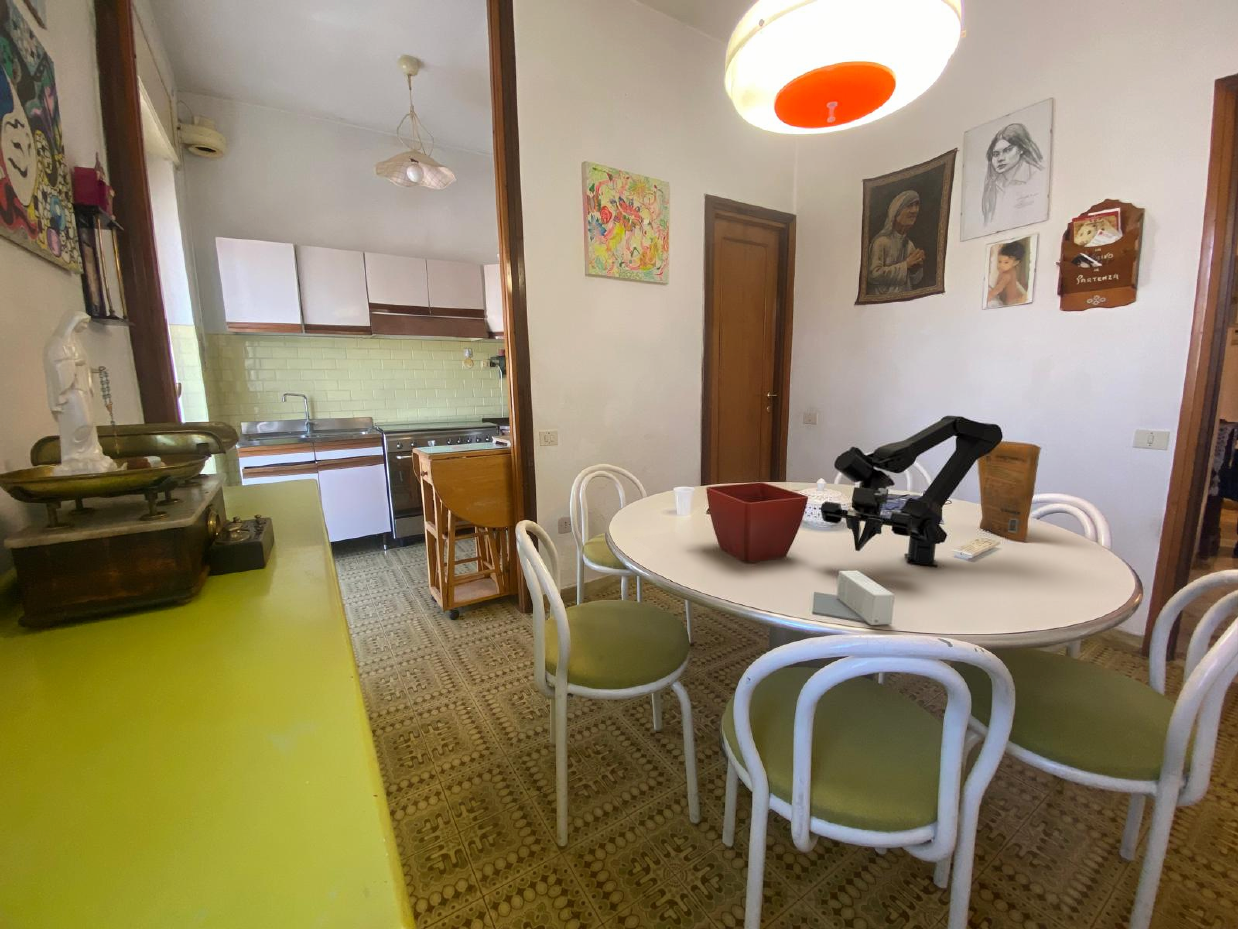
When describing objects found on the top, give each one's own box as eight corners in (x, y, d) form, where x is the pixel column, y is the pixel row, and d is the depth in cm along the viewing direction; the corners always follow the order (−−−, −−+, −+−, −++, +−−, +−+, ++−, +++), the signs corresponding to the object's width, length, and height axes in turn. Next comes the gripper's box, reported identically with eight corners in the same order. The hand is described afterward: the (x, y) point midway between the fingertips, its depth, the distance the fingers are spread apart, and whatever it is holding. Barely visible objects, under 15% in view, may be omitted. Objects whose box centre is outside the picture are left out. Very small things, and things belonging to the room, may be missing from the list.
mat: (814, 593, 105) (814, 591, 105) (871, 602, 101) (871, 600, 101) (812, 613, 96) (812, 611, 96) (875, 624, 92) (875, 622, 92)
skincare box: (855, 596, 103) (892, 625, 91) (835, 597, 102) (870, 626, 90) (857, 569, 101) (895, 594, 90) (838, 570, 101) (873, 595, 89)
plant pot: (806, 560, 125) (810, 495, 122) (744, 570, 118) (747, 502, 115) (759, 538, 143) (762, 481, 140) (702, 546, 136) (704, 487, 133)
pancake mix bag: (1016, 545, 136) (1030, 445, 131) (963, 525, 155) (973, 437, 150) (1039, 544, 136) (1053, 444, 132) (983, 524, 155) (994, 437, 150)
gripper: (826, 468, 116) (809, 524, 110) (916, 479, 105) (904, 541, 99) (831, 493, 124) (815, 547, 117) (916, 506, 113) (904, 566, 107)
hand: (857, 550), depth 110 cm, fingers closed
